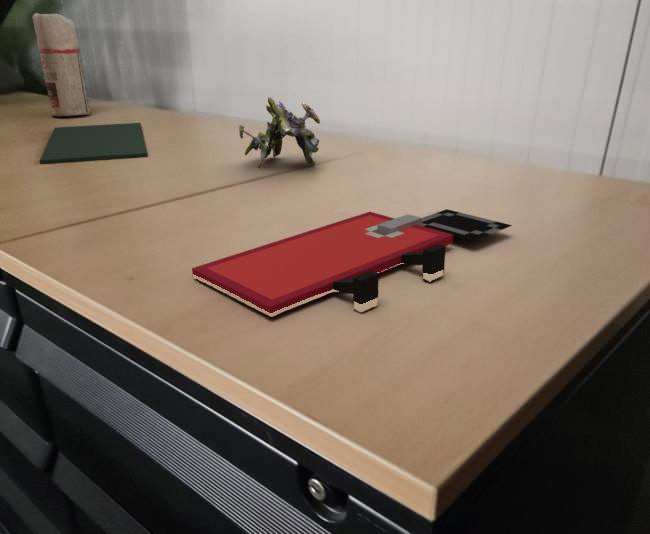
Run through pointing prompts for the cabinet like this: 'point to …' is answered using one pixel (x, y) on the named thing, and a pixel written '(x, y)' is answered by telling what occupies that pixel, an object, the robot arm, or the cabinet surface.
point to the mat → (94, 143)
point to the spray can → (61, 64)
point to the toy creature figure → (284, 132)
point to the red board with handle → (342, 257)
